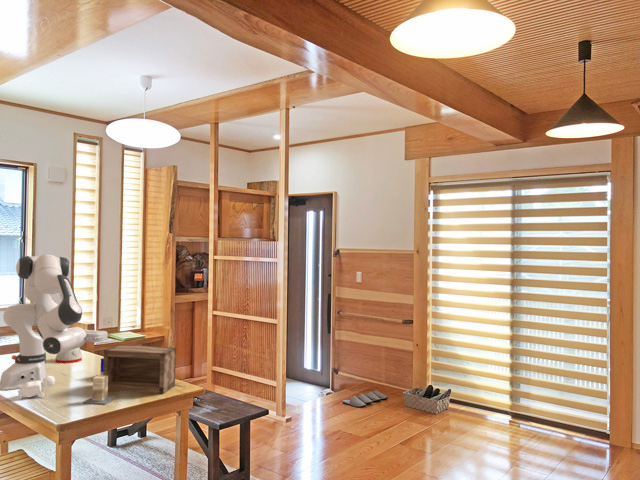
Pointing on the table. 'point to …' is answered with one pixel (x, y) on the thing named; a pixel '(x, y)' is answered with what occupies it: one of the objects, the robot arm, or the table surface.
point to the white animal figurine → (35, 387)
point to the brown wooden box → (140, 368)
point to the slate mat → (109, 398)
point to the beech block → (100, 388)
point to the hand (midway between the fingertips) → (92, 331)
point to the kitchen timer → (69, 356)
